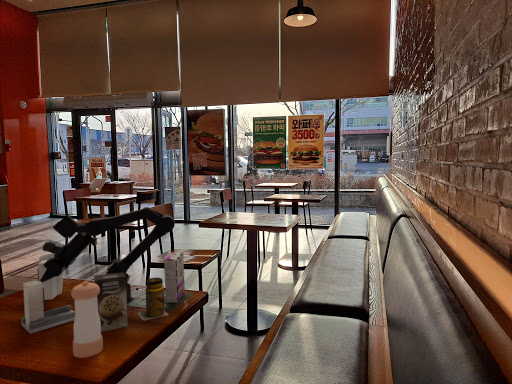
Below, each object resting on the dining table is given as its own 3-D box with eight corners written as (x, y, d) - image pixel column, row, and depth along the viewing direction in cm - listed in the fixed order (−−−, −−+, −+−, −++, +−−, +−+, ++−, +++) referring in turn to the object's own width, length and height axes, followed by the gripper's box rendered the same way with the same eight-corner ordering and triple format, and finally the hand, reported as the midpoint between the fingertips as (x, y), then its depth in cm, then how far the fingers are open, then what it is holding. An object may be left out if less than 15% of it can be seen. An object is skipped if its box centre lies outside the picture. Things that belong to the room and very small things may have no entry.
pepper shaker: (97, 357, 93) (94, 285, 92) (68, 358, 93) (65, 286, 91) (106, 343, 100) (103, 277, 99) (79, 345, 100) (76, 277, 99)
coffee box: (96, 333, 107) (94, 280, 106) (95, 325, 113) (92, 275, 112) (128, 326, 111) (126, 276, 110) (125, 319, 117) (123, 270, 116)
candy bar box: (172, 292, 142) (171, 252, 141) (185, 292, 142) (184, 252, 140) (164, 303, 130) (163, 259, 129) (178, 303, 130) (177, 259, 129)
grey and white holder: (70, 311, 124) (68, 272, 123) (80, 318, 118) (78, 277, 117) (21, 325, 113) (19, 282, 112) (30, 333, 107) (27, 288, 106)
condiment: (168, 315, 120) (167, 280, 119) (143, 321, 115) (142, 285, 114) (161, 308, 126) (160, 275, 125) (137, 313, 121) (136, 279, 121)
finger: (56, 294, 130) (55, 259, 129) (52, 299, 125) (51, 262, 125) (42, 296, 129) (41, 260, 128) (38, 300, 124) (36, 263, 124)
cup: (47, 290, 146) (45, 253, 145) (69, 289, 147) (67, 252, 146) (36, 298, 137) (34, 258, 136) (60, 297, 138) (58, 257, 137)
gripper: (65, 228, 136) (34, 258, 134) (48, 236, 117) (12, 272, 116) (88, 247, 138) (58, 277, 136) (75, 258, 120) (41, 293, 118)
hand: (43, 279), depth 126 cm, fingers closed on finger, 4 cm apart
